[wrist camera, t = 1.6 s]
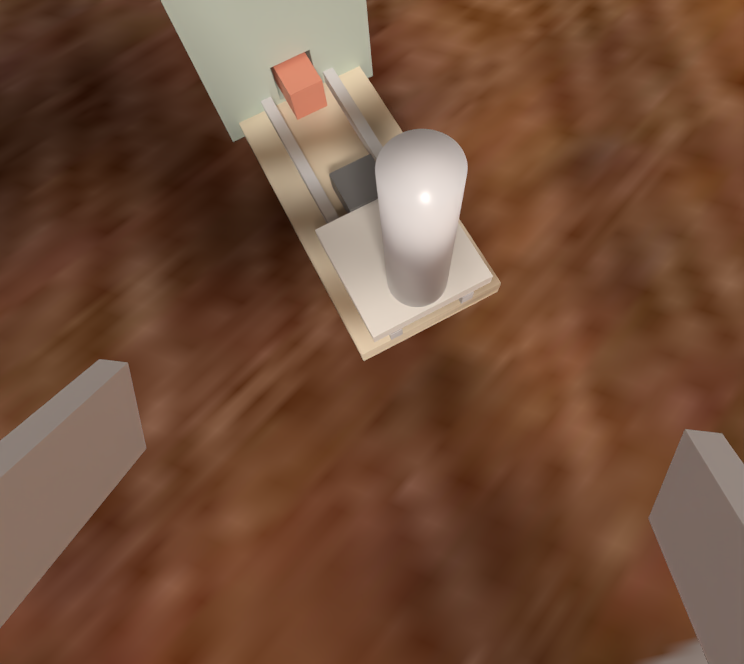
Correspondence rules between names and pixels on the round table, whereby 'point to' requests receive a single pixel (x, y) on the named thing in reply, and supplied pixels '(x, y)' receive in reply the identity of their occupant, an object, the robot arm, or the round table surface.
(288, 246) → the round table surface
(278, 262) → the round table surface
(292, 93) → the block
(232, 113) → the gauge cabinet
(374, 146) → the rail track
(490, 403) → the round table surface
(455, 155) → the carriage
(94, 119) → the round table surface
